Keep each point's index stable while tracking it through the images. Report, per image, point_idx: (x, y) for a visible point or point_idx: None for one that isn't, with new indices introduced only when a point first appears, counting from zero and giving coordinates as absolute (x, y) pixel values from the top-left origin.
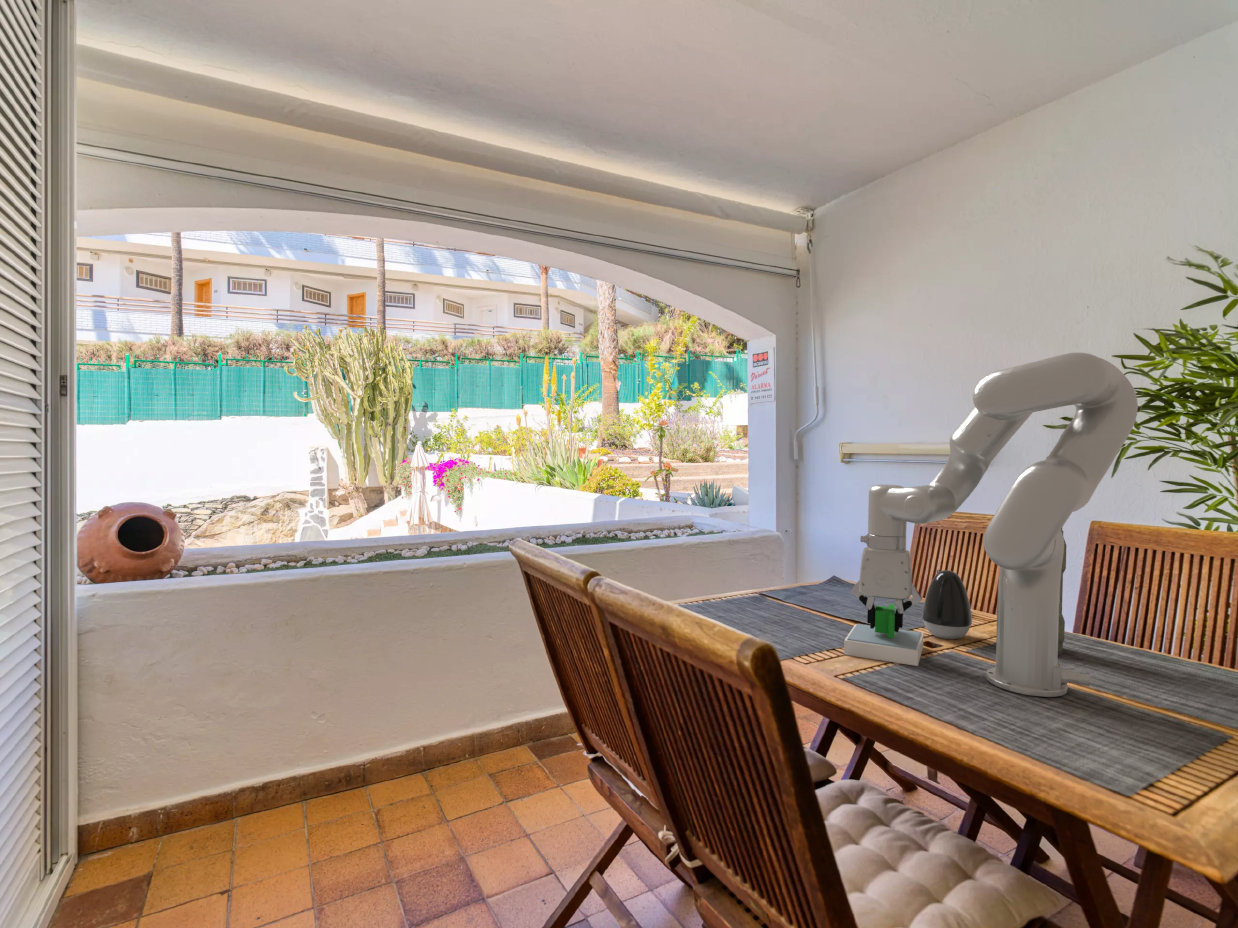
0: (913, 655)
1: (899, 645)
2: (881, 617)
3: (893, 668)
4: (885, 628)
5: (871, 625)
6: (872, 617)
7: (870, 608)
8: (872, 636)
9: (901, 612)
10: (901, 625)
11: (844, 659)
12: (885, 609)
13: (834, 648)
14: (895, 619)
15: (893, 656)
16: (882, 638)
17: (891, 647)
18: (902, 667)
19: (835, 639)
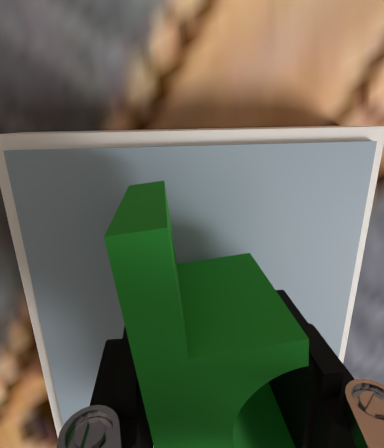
0: (27, 133)
1: (98, 161)
2: (239, 315)
3: (115, 28)
4: (196, 275)
5: (281, 296)
6: None
7: (350, 395)
8: (254, 255)
9: (85, 421)
10: (107, 344)
11: (336, 48)
12: (229, 435)
13: (378, 191)
14: None
15: (131, 130)
16: (204, 247)
17: (138, 133)
18: (82, 71)
19: (373, 305)
